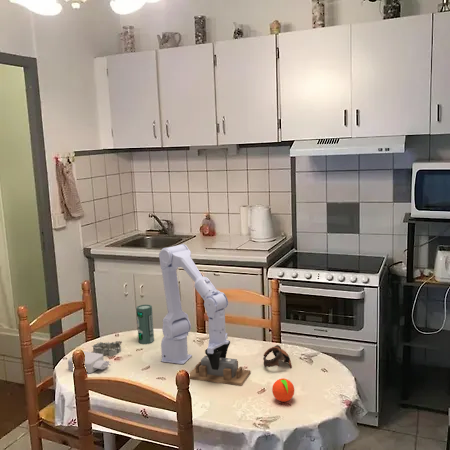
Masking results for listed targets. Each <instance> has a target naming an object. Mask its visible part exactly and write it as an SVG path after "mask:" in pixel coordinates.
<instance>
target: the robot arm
mask: <svg viewBox="0 0 450 450" xmlns="http://www.w3.org/2000/svg"><path fill="white" fill-rule="evenodd" d="M158 258H159V264H160V270H161V276H162V281H163V288H164V296H165V303H166V309H167V313H166V315H165V316H164V317H163V319H162V328H161V329H162V334H163V337H162V339H161V343H160V344H161V345H160V347H161V348H160V349H161V350H160V351H161V360H160V362H163V363H171V364H172V363H173V364H179V365H185V364H186V362H188V361H189V359H191V358H192V356H193V355H192V354H189V353H188V351H189V350H188V336H189V333H190V332H191V329H192V324H191V321H190V319H189V315H188V313H186V312H185V311H183V308H182V301H181V294H180V293H181V292H180V287H179V282H178V274H177V270H178V268H182V269H183V270H184V272H186V274H187V275H188V276H189V277H190V279H192V281H193V282H194V286H193V287H194V289H195V290H196V291H197V293H198V294H199V295H200V297H201V298H202V300H203V301H204V302H203V306H204V308H205V311H206V315H207V317H208V337H209V339H208V345H207V347H206V349H205V350H204V354H205V356H207V357H208V358H209V361H210V364H211V367H212V369H213V370H218V368H219V360H220V357H222V358H227V354H228V348H229V347H230V345H231V340H228V337H229V336H228V332H227V331H226V312H225V311H226V310H225V309H226V308H227V307H228V306H229V300H228V296H226V294H225V292H223V291H220V290H219V289H217V288H216V287H215V285H214V284H213V283H212V281H211V280H210V279H209V278H208V276H204V275H202V273H201V271H200V270H199V269H198V267H197V265H196V263H195V262H194V260H193V258H192V251H191V250H190V249H189V247H188V245H186V244H185V243H181V244H178V245H174V246H168V247H163V248H161V250H160V251H159V253H158Z"/></svg>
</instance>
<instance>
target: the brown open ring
mask: <svg viewBox="0 0 450 450" xmlns="http://www.w3.org/2000/svg"><path fill="white" fill-rule="evenodd" d="M270 353H272V354H273V355H274V357H273V358H272V359H267V357H268V356H269V354H270ZM262 360H263V366H264V367H265V368H266V367H267V368H271V367H274V366H277V367H280V363H279V361H281V362H283V363H284V364H285V363H287V364H288V365H289V368H290V369H292V367H293V366H292V362H291V358H290V356H289V354H288V353H287V351H286V350H284V349H282V348H281V346H280V345H278V344H277V345H274V346H272V347H270V348H268V349H267V350H266V351H265V352H264V353H263V358H262Z"/></svg>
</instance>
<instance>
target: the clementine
mask: <svg viewBox="0 0 450 450" xmlns="http://www.w3.org/2000/svg"><path fill="white" fill-rule="evenodd" d="M271 390H272V391H271V392H272V395H273V397H274V398H275V399H276V400H277V401H278V402H283V403H285V402H289V401H290V400H291V399H292V398H293V397H294V395H295V387H294V384H293V382H291V381H290V380H289V379H287V378H282V377H281V378H279V379H277V380H275V382H274V383H273V385H272V389H271Z"/></svg>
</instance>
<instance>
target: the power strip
mask: <svg viewBox="0 0 450 450" xmlns="http://www.w3.org/2000/svg"><path fill="white" fill-rule="evenodd" d="M237 361H238V359H236V358H227V357H226V358H222V357H220V360H219V368H218V370H213V369H212V367H211V364H210V361H209V358H208V357H207V355H204V356H203V357H202V359H200V362H201V365H204V366H207V374H208V375H216V376H223V370H224V368H228V369H231V374H232V378H234V377H235V375H236V371H237Z"/></svg>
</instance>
